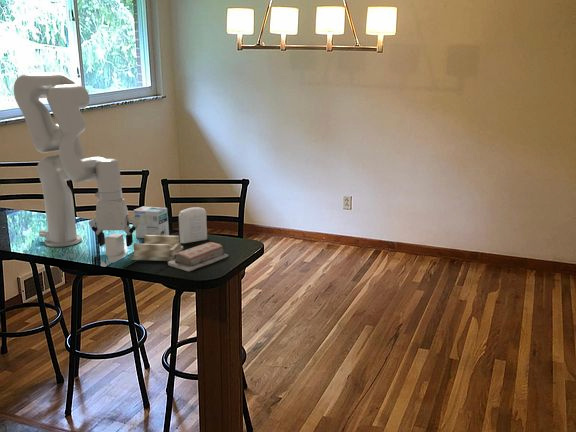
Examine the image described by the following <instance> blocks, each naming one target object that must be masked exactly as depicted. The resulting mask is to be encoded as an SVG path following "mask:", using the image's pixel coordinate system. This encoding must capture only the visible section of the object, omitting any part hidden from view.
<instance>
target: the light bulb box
mask: <svg viewBox="0 0 576 432" xmlns="http://www.w3.org/2000/svg"><path fill="white" fill-rule="evenodd" d="M133 216H134V217H133V219H135V220H137V221H138V222H139V223H138V225H137V228H136V229H135V231H134V232H135V239H137V238H139V239H144V236H145V235H170V227H169V216H168V208H167V207H157V206H156V207H155V206H144V205H143V206H141V207H138V208H136V209H133Z"/></svg>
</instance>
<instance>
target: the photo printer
mask: <svg viewBox="0 0 576 432" xmlns="http://www.w3.org/2000/svg"><path fill="white" fill-rule="evenodd" d="M207 225H208V224H207V211H206V209H205V208H203V207H199V206H196V207H194V206H193V207H188V208H185V209H182V210H180V211H178V232H179V242H181V244H189V243H194V242H200V241H206V240H208V228H207V227H208V226H207Z"/></svg>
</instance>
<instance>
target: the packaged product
mask: <svg viewBox="0 0 576 432" xmlns="http://www.w3.org/2000/svg"><path fill="white" fill-rule="evenodd" d="M228 257H229V254H227V253H225V250H224V247H223V245H222V244H221V243H217V242H213V241H209V242H205V243H201V244H200V245H196V246H193V247H189V248H187V249H185V250H184V249H183V250H182V251H181V252H178V253H176V254H175V258H174V259H173V260H172V261H167V264H168V267H169V266H170V267H172V268H175V269H178V270H182V271H185V272H191V271H194V270H196V269H199V268H202V267H205V266H208V265H210V264H213V263H215V262H218V261H221V260H224V259H226V258H228Z"/></svg>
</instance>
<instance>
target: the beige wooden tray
mask: <svg viewBox="0 0 576 432" xmlns="http://www.w3.org/2000/svg"><path fill="white" fill-rule="evenodd" d="M143 239H144V243H136V242H134V243H132V244H133V254H131V256H130V260H131V261H133V260H134V261H159V262H160V261H164V262H169V261H172V260H174V259H175V254H176V253H178V252H181V251H184V245H182V243H181V242H180V235H170V234H169V235H145V236H144V238H143Z"/></svg>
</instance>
